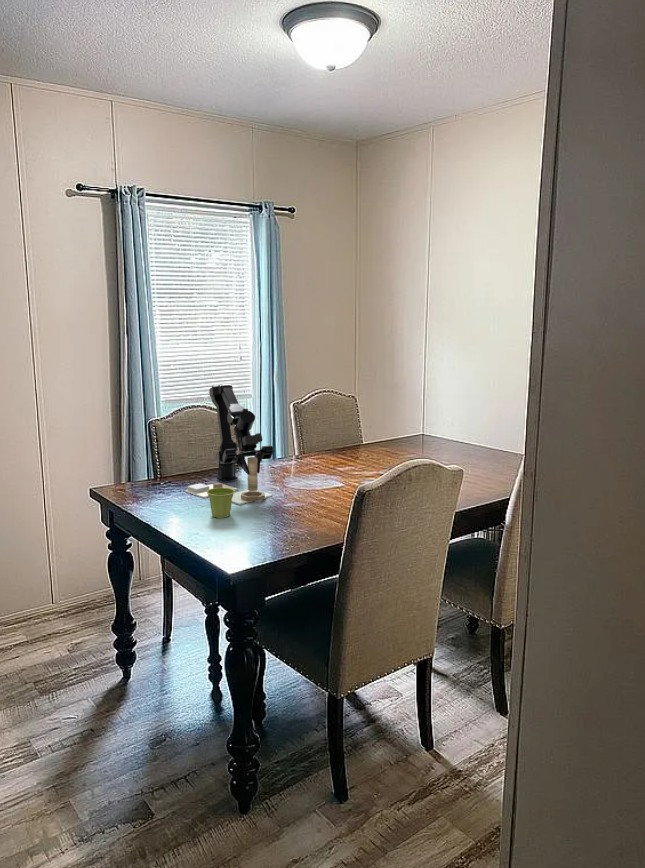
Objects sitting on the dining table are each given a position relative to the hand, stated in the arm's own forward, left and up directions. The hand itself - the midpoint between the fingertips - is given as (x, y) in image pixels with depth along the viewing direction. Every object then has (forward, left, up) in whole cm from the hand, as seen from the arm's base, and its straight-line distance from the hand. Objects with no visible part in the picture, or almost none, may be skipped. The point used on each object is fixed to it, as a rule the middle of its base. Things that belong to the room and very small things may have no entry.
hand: (253, 473), depth 247 cm
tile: (+3, -21, -10) cm, 24 cm away
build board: (0, -4, -10) cm, 11 cm away
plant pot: (+19, +6, -11) cm, 23 cm away
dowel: (-1, -1, -7) cm, 7 cm away
